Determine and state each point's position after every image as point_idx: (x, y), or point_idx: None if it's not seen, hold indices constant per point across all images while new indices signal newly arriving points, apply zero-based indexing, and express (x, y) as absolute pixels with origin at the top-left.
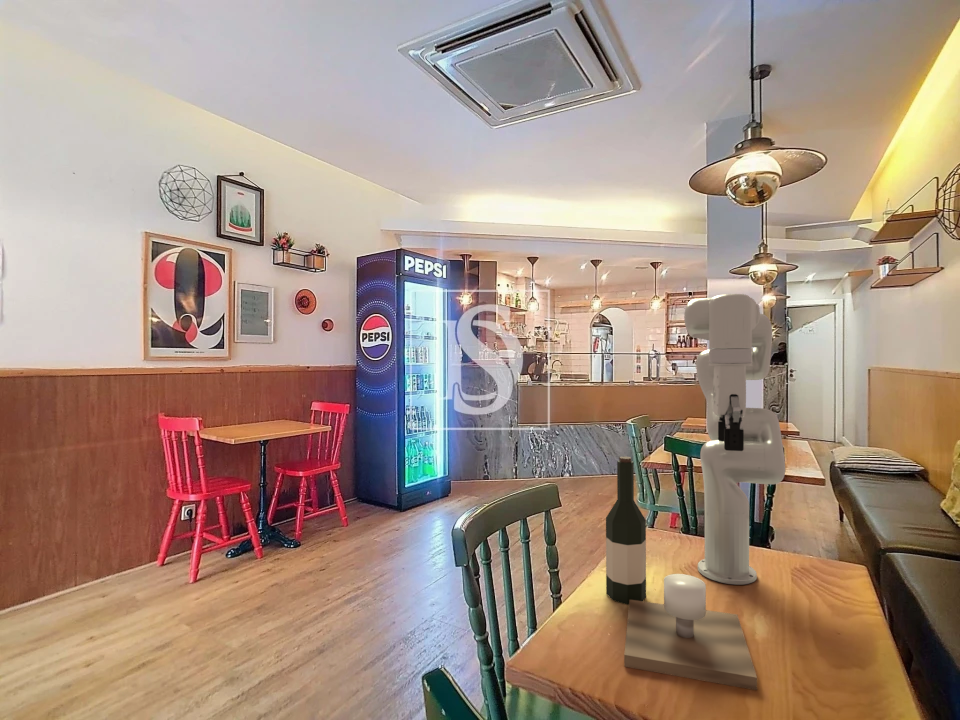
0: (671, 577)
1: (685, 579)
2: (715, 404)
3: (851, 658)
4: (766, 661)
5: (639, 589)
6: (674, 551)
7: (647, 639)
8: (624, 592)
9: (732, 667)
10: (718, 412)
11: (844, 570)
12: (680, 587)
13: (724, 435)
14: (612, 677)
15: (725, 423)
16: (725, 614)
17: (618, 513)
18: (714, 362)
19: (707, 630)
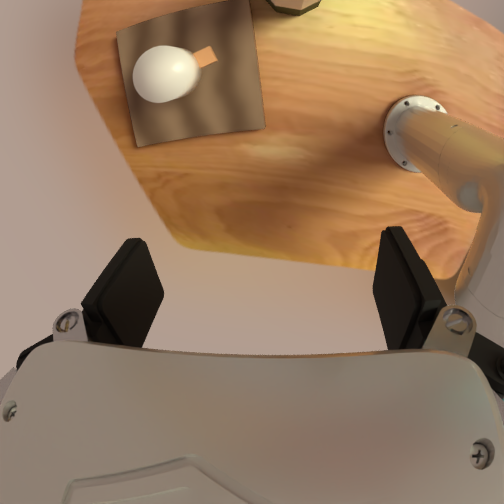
0: (168, 54)
1: (170, 73)
2: (86, 440)
3: (240, 226)
4: (195, 152)
5: (273, 5)
6: (471, 76)
7: (153, 40)
8: None
9: (142, 125)
10: (25, 361)
11: (441, 267)
12: (141, 72)
13: (101, 278)
14: (103, 31)
15: (404, 326)
16: (258, 114)
17: None
18: None
19: (204, 95)
